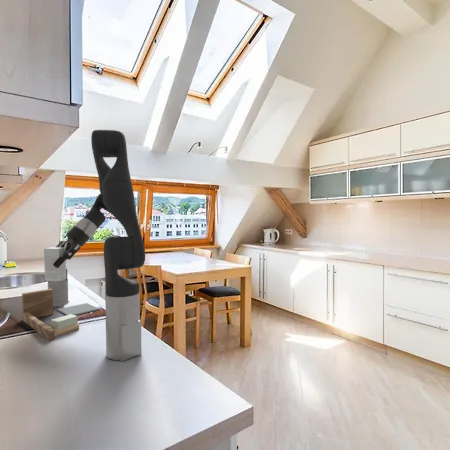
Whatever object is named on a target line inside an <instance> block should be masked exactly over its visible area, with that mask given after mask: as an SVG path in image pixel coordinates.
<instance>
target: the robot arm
mask: <svg viewBox="0 0 450 450" xmlns="http://www.w3.org/2000/svg"><path fill="white" fill-rule="evenodd" d="M90 137H91V139H90V140H91V141H90V142H91V150H92V155H93V159H94V164H95V168H96V172H97V176H98V184H99V185H98V186H99V194H98V195H97V197H96V199H95V201H94V203H93V205H92V206H91V207H90V210H89V211H88V212H87V213H86V214H85V215H84V216H83V217H82V218H80V220H78V221H77V222H76V224H74V225H73V227H71V228H70V230H69V231H68V232H66V234H65V235H66V236H65V237H67V239H66V240H65V241H64V240H61V241H60V242H59V243H58V244H57V245H56V246H55V247H58V248H63V250H62V254H61V257H59V258H58V259H57V260H56V261H55V262H54V263H53V266H55V267H56V268H59V267H60V265H61V264H62V263H63V262H64V261H65V260H66V261H68V260H71V259H72V258H73V257H74V255H75V254H77V252H78V251H79V250H80V249H81V247H84V246H85V244H86V243H87V242H88V241H89V240H90V239H91V238H92V237H93V236H94V235H95V233H96V232H97V230H98V229H99V228H100V227H101V226H102V225H103V224H104V222H105V221H106V219H107V218H106V216H105V214H104V213H103V212H102V211H101V210H105V212H108V213H110V214H111V215H112V216H113V217H114V218H115V219H116V220H117V221H118V222H119V223H120V225H122V227H123V229H124V230H125V232H126V236H109V237H107V238H106V239H105V240H104V243H103V262H104V282H105V284H104V286H105V287H104V288H105V289H104V291H105V295H104V296H105V349H106V350H105V356H106V357H107V359H110V360H112V361H113V360H114V361H120V362H123V361H124V362H125V361H127V360H129V359H132V358H134V357H136V356H137V357H138V356H139V355H142V321H141V315H140V309H141V308H140V305H141V302H140V299H141V298H140V294H141V293H140V291H141V289H140V282H138V281H137V280H134V279H129V278H127V277H126V278H125V277H123V276H122V275H120V274H119V272H118V271H119V270H121V271H122V270H133V269H138V268H142V267H143V266H144V264H145V261H146V250H145V244H144V240H143V235H142V231H141V227H140V224H139V220H138V219H139V218H138V214H137V209H136V201H135V195H134V194H135V193H134V188H133V183H132V182H133V181H132V177H131V174H130V168H129V159H128V148H127V147H128V146H127V140H126V136H125V134H124V132H123V131H121V130H119V129H94V130H93V131H92V132H91V136H90ZM105 158H116V160H115V162H114V165H112V167H111V166H110V165H109V164H108V163H107V161H105Z"/></svg>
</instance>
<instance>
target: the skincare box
mask: <svg viewBox="0 0 450 450" xmlns="http://www.w3.org/2000/svg"><path fill="white" fill-rule="evenodd" d="M62 250H63V248H58V247H56V246H54V247H52V246H51V247H46V248H44V249H43V255H44V256H43V258H44V260H43V261H44V282H45V281H46V282H48V281H61V280H64V279H66V269H67V260H65V261H64V262H63V263H62V264H61V265H60V267H59V268H56V267H55V266H53V263H54V262H55V261H56V260H57V259H58V258H59V257H61V254H62Z"/></svg>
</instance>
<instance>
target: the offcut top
mask: <svg viewBox="0 0 450 450" xmlns="http://www.w3.org/2000/svg"><path fill="white" fill-rule="evenodd" d="M78 316H79V315H72V314H69V315H64V316H59V317H56V318H53V319H51V320H50V326H51V327H52V328H55V329H61V328H64V327H67V326H71V325H74V324H77V323H79V319H78Z"/></svg>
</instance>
